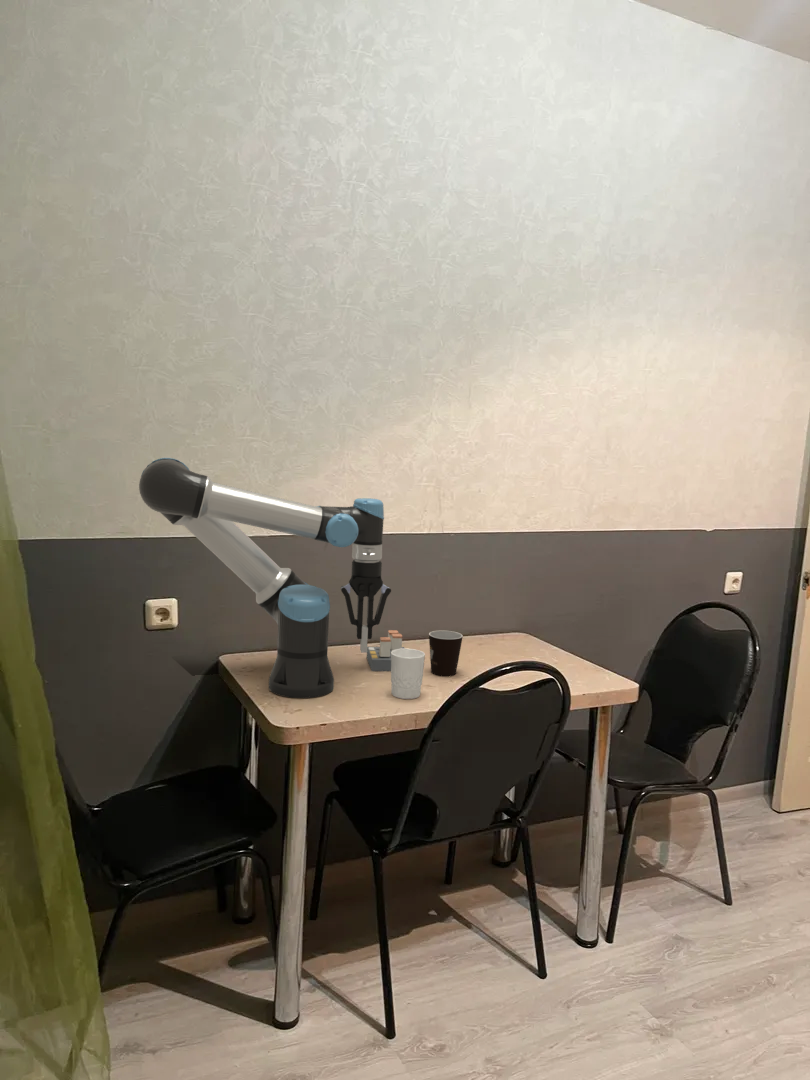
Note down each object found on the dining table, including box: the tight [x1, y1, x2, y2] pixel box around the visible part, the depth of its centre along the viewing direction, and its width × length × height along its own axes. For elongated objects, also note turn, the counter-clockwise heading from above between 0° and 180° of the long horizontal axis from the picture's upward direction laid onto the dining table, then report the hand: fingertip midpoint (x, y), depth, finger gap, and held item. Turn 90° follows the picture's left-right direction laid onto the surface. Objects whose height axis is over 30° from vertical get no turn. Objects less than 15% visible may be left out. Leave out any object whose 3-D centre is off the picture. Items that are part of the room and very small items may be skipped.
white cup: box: [390, 647, 426, 700], centre depth 188 cm, size 8×8×10 cm
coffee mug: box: [428, 629, 464, 678], centre depth 208 cm, size 12×9×10 cm
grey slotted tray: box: [366, 646, 405, 672], centre depth 211 cm, size 10×12×3 cm
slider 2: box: [391, 633, 403, 651], centre depth 211 cm, size 2×2×4 cm
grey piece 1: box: [379, 636, 391, 657], centre depth 207 cm, size 2×2×4 cm
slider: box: [387, 629, 400, 649], centre depth 215 cm, size 2×2×4 cm
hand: (363, 651), depth 207 cm, fingers closed
